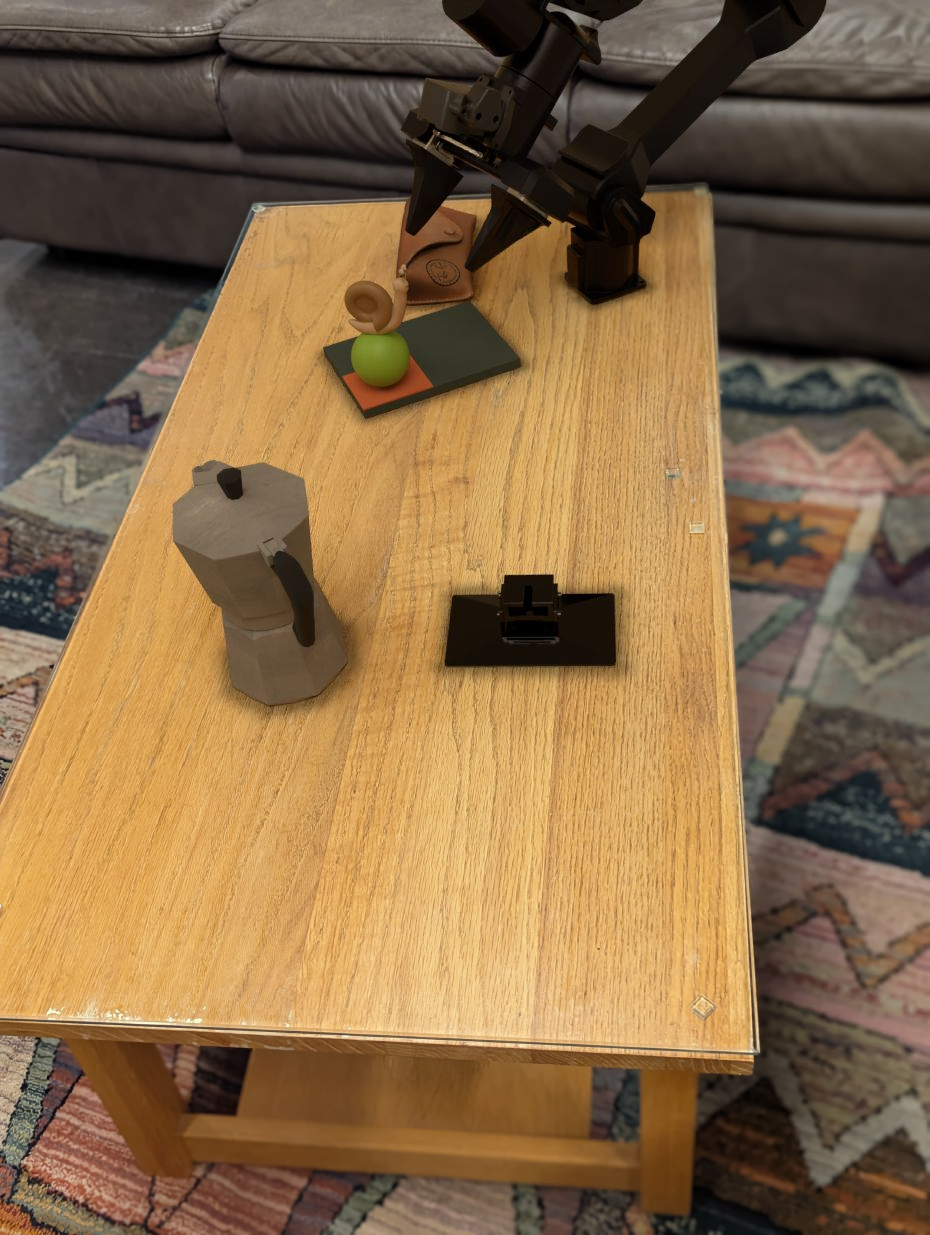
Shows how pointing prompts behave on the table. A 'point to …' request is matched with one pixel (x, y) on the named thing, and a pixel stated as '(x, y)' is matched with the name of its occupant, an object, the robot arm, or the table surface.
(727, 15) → the robot arm
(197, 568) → the coffeepot
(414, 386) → the corner mat
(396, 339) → the snail figurine
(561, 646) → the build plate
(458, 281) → the sunglasses case
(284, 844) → the table surface
